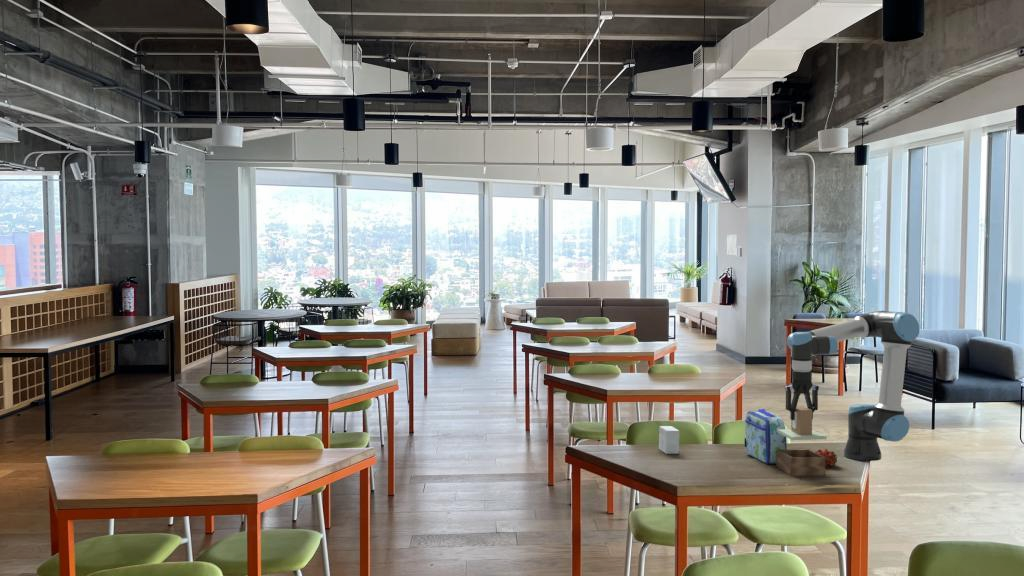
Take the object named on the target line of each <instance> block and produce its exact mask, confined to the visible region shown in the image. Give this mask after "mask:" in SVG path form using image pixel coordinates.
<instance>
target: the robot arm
mask: <svg viewBox="0 0 1024 576" xmlns="http://www.w3.org/2000/svg"><path fill="white" fill-rule="evenodd" d="M919 335H920V324H919V320H917V318H916V317H915V316H914V314H910V313H909V312H908V313H907V312H903V311H889V310H888V311H887V310H877V311H873V312H869V313H865V314H861V315H857V316H855V317H854V318H853V319H852V320H848V321H844V322H840V323H836V324H835V323H834V324H832V325H829V326H824V327H820V328H816V329H813V330H809V331H795V332H791V333H790V334H789V335H788V336H787V340H786V343H787V347H788V349H790V350H791V369H792V371H791V384H789V385H785V386H784V390H785V410H787V411H788V412H789V414H790V416H789V418H790V420H792V427H793V428H795V429H797V412H795V410H796V407H797V406H798V402H799V399H800V396H801V395H802V394H803V395H804V399H805V403H806V408H809V409H811V410H812V420H813V419H814V412H815V411H817V410H819V409H818V408H819V404H818V403H819V402H818V401H819V399H818V397H819V395H818V394H819V390H820V386H819V385H817V384H813V381H812V380H813V377H812V376H813V371H812V369H813V356H822V355H826V356H827V355H828V356H829V355H833V354H836V353H837V351H838V349H839V343H840V342H844V341H846V340H847V341H848V340H852V339H855V338H860V339H864V338H868V337H869V338H880V339H881V340H880V343H881V344H882V345H883V349H884V350H883V357H882V367H881V375H880V386H879V396H878V403H876V404H871V403H870V404H865V403H864V404H852V405H850V406H849V408H848V413H847V414H848V415H847V416H848V419H847V420H848V425H847V427H848V436H847V437H848V438H847V440H846V443H845V446H844V449H843V456H844V457H845V458H847V459H851V460H857V461H863V460H867V461H868V460H869V461H868V462H875V461H880V460H882V451H881V448H880V445H879V443H878V439H882V440H884V441H887V442H888V441H889V442H893V443H894V442H895V443H897V442H899V441H901V440H903V439H904V438H906V436H907V435H908V432H909V430H910V421H909V420H908V419H909V418H907V417H906V416H905V409H904V408H903V407H902V400H903V399H902V398H903V390H904V389H903V388H904V379H905V369H906V361H907V360H906V359H907V352H908V349H909V348H910V347H912V343H913V341H915V340H916V339H917V337H919ZM792 390H793V396H792ZM810 391H811V393H810ZM867 461H866V462H867Z"/></svg>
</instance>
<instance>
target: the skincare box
mask: <svg viewBox="0 0 1024 576" xmlns="http://www.w3.org/2000/svg"><path fill="white" fill-rule="evenodd" d="M658 428H659V429H658V430H659V431H658V434H659V436H658V449H659V450H660V451H661V452H663V453H664V454H667V455H668V454H671V455H672V454H673V455H674V454H680V430H679V429H677V428H676V427H674V426H673V425H672V426H671V425H660V426H659V427H658Z"/></svg>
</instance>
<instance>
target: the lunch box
mask: <svg viewBox="0 0 1024 576" xmlns="http://www.w3.org/2000/svg"><path fill="white" fill-rule="evenodd" d="M745 417H746V418H745V419H744V422H745V423H744V424H745V425H744V426H745V438H744V448H746V452H747V455H748V456H750V457H752V458H754V459H756V460H759V461H760V462H761V463H763V464H765V465H768V464H770V465H774V464H775V465H776V458H777V450H784V449H787V446H788V445H787V437H785V436H783V435H782V434H780V433H778V429H786V425H785V422H784V419H782V417H780V416H778V415H776V414H775V413H773V412H770V411H767V410H766V409H765V408H759V409H758V410H753V411H752V410H751V411H747V413H746V416H745Z"/></svg>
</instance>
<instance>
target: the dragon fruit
mask: <svg viewBox="0 0 1024 576" xmlns="http://www.w3.org/2000/svg"><path fill="white" fill-rule="evenodd" d="M815 452H816V453H818V454H820V455H822V456H823V457H825V469H827V468H829V467H832V466H837V462H838V460H837V459H838V455H837V454H836V453H835V452H834V451H832V450H830V451H829V450H828V449H827V448H824V449H823V450H822V449H818V450H817V451H815Z"/></svg>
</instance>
